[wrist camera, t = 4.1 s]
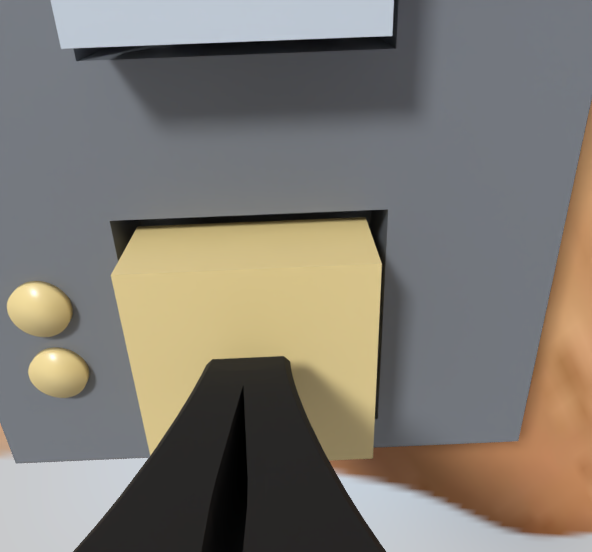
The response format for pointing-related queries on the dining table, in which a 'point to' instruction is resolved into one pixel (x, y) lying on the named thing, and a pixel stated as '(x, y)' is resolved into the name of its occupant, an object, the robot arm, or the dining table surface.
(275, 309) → the key ochre
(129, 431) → the grey flat block
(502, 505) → the dining table surface
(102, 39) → the key grey
